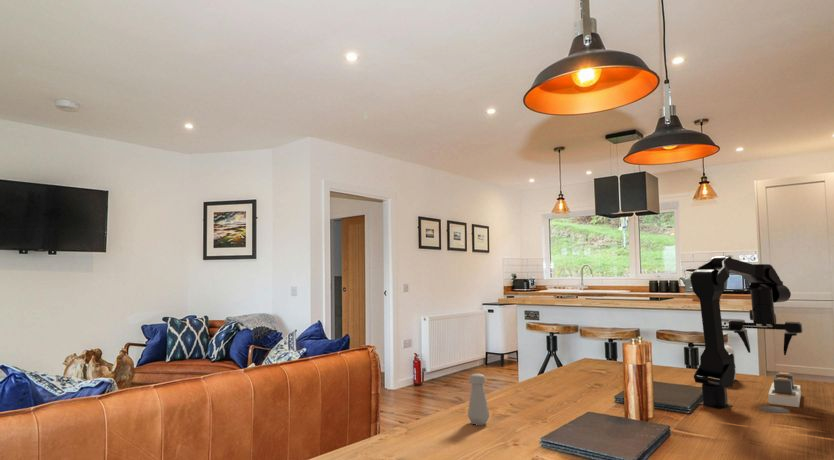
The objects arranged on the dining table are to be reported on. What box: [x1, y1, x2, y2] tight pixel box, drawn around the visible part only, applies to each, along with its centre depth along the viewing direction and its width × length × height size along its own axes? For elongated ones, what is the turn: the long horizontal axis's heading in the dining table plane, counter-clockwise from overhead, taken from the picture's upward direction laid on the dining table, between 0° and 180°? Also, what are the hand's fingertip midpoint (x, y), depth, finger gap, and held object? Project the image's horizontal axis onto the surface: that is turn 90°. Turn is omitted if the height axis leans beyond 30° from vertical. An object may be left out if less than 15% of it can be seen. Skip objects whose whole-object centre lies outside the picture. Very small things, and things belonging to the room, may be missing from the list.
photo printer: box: [718, 344, 737, 381], centre depth 175 cm, size 10×4×12 cm, turn 134°
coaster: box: [758, 405, 791, 414], centre depth 138 cm, size 7×7×1 cm
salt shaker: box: [467, 373, 490, 426], centre depth 134 cm, size 6×6×13 cm
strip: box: [767, 371, 802, 408], centre depth 155 cm, size 33×7×7 cm, turn 141°
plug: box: [773, 377, 793, 396], centre depth 146 cm, size 4×4×6 cm
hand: (766, 353), depth 155 cm, fingers open, 9 cm apart
